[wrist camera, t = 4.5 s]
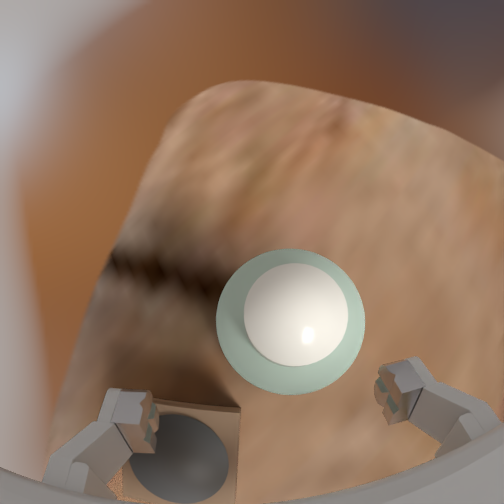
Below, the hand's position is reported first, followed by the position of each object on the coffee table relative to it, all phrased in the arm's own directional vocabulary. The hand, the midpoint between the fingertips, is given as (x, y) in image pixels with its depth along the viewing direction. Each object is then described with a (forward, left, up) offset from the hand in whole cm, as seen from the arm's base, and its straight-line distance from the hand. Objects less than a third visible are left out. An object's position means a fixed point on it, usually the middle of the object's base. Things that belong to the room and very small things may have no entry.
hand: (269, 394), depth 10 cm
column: (+2, -1, -8) cm, 8 cm away
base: (-4, +4, -8) cm, 10 cm away
